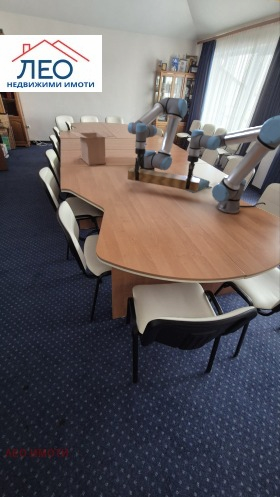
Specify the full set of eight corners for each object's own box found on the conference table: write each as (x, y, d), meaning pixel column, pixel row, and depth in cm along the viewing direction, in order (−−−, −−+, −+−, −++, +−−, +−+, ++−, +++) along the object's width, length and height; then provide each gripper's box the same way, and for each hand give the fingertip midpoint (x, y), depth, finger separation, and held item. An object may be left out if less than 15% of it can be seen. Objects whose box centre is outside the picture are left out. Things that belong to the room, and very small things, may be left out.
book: (193, 181, 204) (194, 176, 201) (208, 186, 195) (209, 181, 192) (178, 186, 191) (179, 181, 188) (193, 192, 182) (195, 186, 179)
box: (116, 165, 229) (116, 136, 213) (83, 168, 214) (80, 137, 198) (102, 154, 259) (101, 128, 243) (71, 156, 244) (68, 129, 228)
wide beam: (127, 179, 171) (127, 170, 167) (132, 175, 179) (132, 167, 175) (196, 191, 159) (198, 182, 155) (198, 187, 166) (200, 178, 162)
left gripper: (140, 152, 150) (139, 183, 164) (149, 145, 167) (147, 174, 181) (130, 150, 152) (129, 182, 165) (140, 144, 169) (139, 173, 182)
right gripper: (197, 159, 141) (191, 193, 154) (200, 152, 159) (194, 182, 172) (186, 158, 143) (180, 191, 156) (189, 151, 160) (184, 181, 173)
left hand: (139, 178), depth 173 cm, fingers closed on wide beam, 10 cm apart
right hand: (187, 186), depth 164 cm, fingers closed on wide beam, 10 cm apart
